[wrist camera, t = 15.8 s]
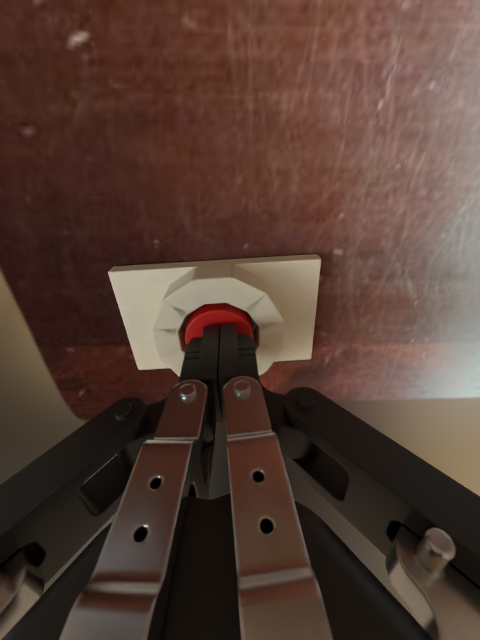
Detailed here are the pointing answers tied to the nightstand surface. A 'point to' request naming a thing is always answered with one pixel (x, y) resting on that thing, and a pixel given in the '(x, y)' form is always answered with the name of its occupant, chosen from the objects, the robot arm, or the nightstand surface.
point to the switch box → (219, 287)
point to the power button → (217, 319)
